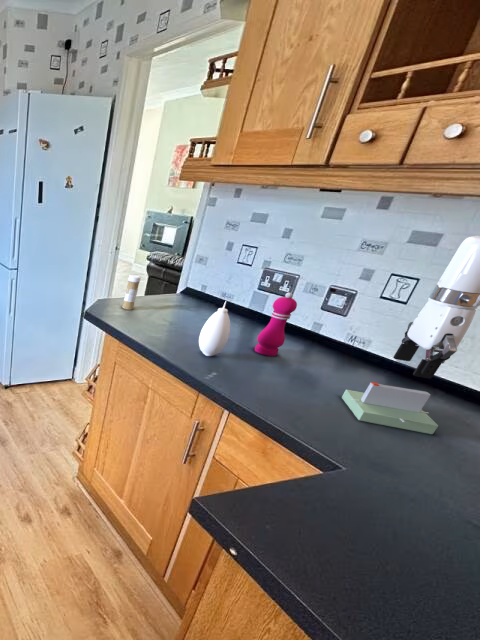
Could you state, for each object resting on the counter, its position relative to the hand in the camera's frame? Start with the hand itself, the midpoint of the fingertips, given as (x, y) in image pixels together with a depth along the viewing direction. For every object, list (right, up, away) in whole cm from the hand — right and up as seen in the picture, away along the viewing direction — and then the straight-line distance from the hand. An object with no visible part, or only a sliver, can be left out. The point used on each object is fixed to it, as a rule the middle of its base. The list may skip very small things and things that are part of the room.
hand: (411, 367), depth 97 cm
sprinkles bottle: (-37, +28, +75) cm, 89 cm away
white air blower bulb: (-27, +5, +36) cm, 45 cm away
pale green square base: (0, -12, +6) cm, 13 cm away
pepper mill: (-6, +7, +39) cm, 40 cm away
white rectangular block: (0, -9, +5) cm, 11 cm away
